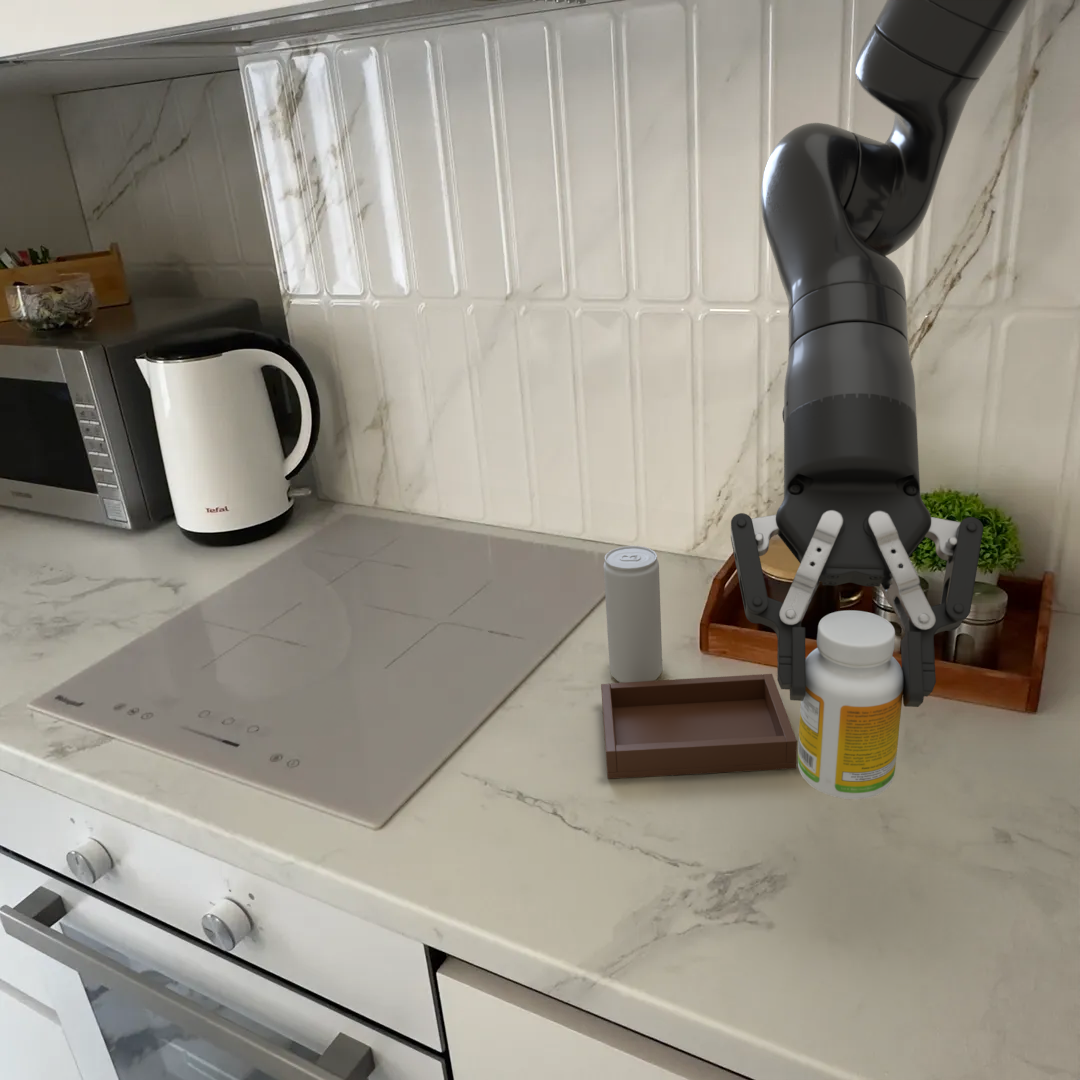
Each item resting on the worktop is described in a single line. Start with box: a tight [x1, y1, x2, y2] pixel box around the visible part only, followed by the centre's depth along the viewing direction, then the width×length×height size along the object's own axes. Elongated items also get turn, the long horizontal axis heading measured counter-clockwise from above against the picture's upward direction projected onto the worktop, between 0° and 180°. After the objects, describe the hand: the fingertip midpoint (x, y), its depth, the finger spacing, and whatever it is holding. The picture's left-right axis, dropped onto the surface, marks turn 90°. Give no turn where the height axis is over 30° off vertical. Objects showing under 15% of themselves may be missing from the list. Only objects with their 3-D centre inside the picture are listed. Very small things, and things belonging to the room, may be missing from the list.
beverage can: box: [603, 545, 663, 683], centre depth 87 cm, size 5×5×12 cm
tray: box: [600, 673, 798, 780], centre depth 80 cm, size 15×10×3 cm, turn 89°
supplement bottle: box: [797, 609, 904, 800], centre depth 55 cm, size 5×5×10 cm
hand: (855, 699), depth 53 cm, fingers closed on supplement bottle, 5 cm apart
